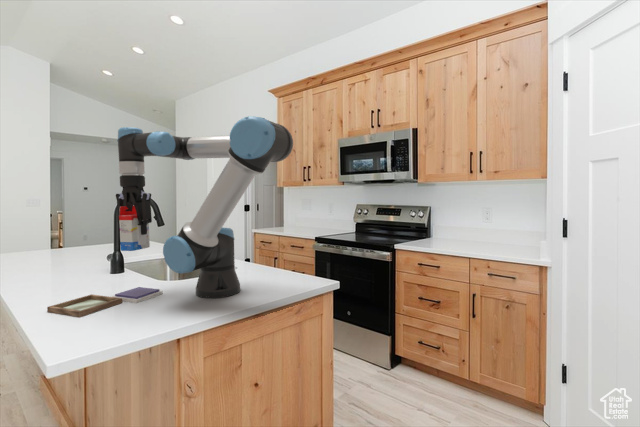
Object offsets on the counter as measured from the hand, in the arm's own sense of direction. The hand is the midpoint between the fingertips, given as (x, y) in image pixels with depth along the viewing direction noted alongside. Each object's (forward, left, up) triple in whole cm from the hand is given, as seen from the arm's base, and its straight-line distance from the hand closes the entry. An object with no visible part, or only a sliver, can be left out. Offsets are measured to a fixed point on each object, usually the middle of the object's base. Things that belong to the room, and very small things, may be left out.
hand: (135, 243), depth 122 cm
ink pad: (0, 0, -18) cm, 18 cm away
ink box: (0, 0, -2) cm, 2 cm away
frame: (+6, +14, -18) cm, 24 cm away
